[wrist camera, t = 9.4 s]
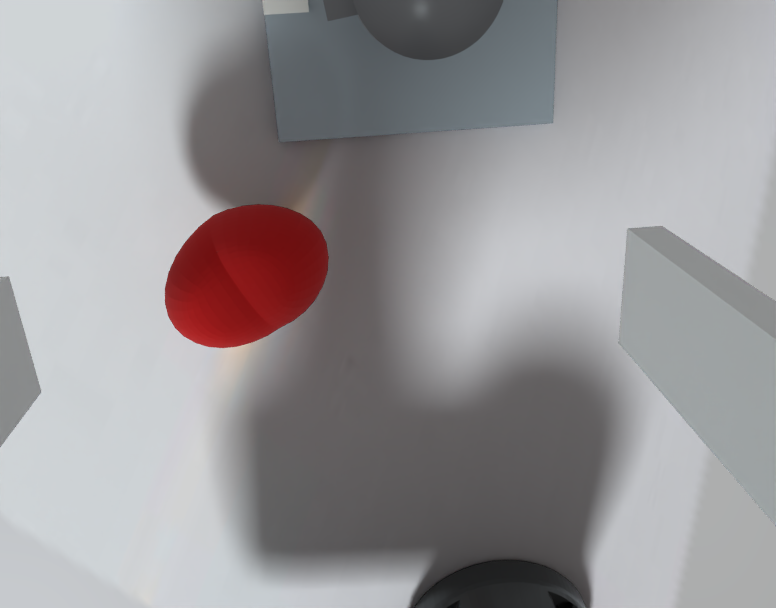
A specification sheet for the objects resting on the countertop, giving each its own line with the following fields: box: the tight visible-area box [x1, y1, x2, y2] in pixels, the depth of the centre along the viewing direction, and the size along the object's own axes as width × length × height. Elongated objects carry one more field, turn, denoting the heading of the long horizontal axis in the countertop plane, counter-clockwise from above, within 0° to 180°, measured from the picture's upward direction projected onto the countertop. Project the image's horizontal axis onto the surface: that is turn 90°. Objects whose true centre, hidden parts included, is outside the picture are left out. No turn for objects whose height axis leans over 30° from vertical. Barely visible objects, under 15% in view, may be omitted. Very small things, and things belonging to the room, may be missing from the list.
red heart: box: [165, 204, 329, 348], centre depth 40 cm, size 9×7×10 cm
